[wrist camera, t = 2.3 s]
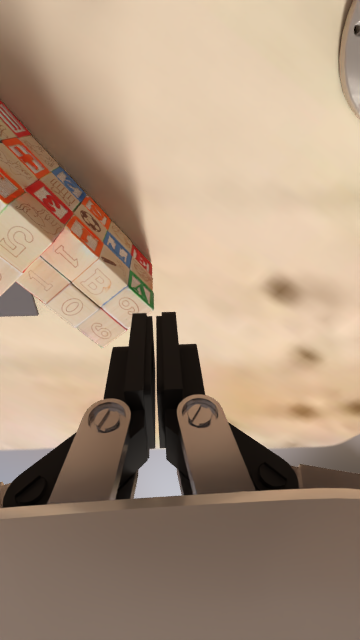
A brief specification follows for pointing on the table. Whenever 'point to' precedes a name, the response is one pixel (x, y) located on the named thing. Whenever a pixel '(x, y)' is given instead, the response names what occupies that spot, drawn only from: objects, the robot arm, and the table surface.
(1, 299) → the mat
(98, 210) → the stack of blocks
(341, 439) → the table surface
